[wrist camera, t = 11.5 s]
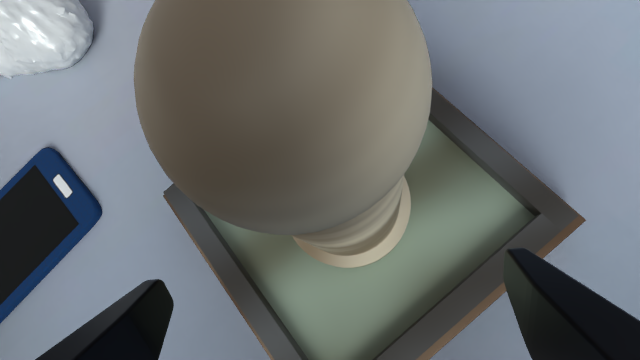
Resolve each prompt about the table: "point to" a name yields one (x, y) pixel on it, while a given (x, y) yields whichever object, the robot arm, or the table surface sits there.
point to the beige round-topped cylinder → (289, 115)
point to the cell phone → (40, 223)
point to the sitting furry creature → (42, 35)
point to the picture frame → (392, 256)
